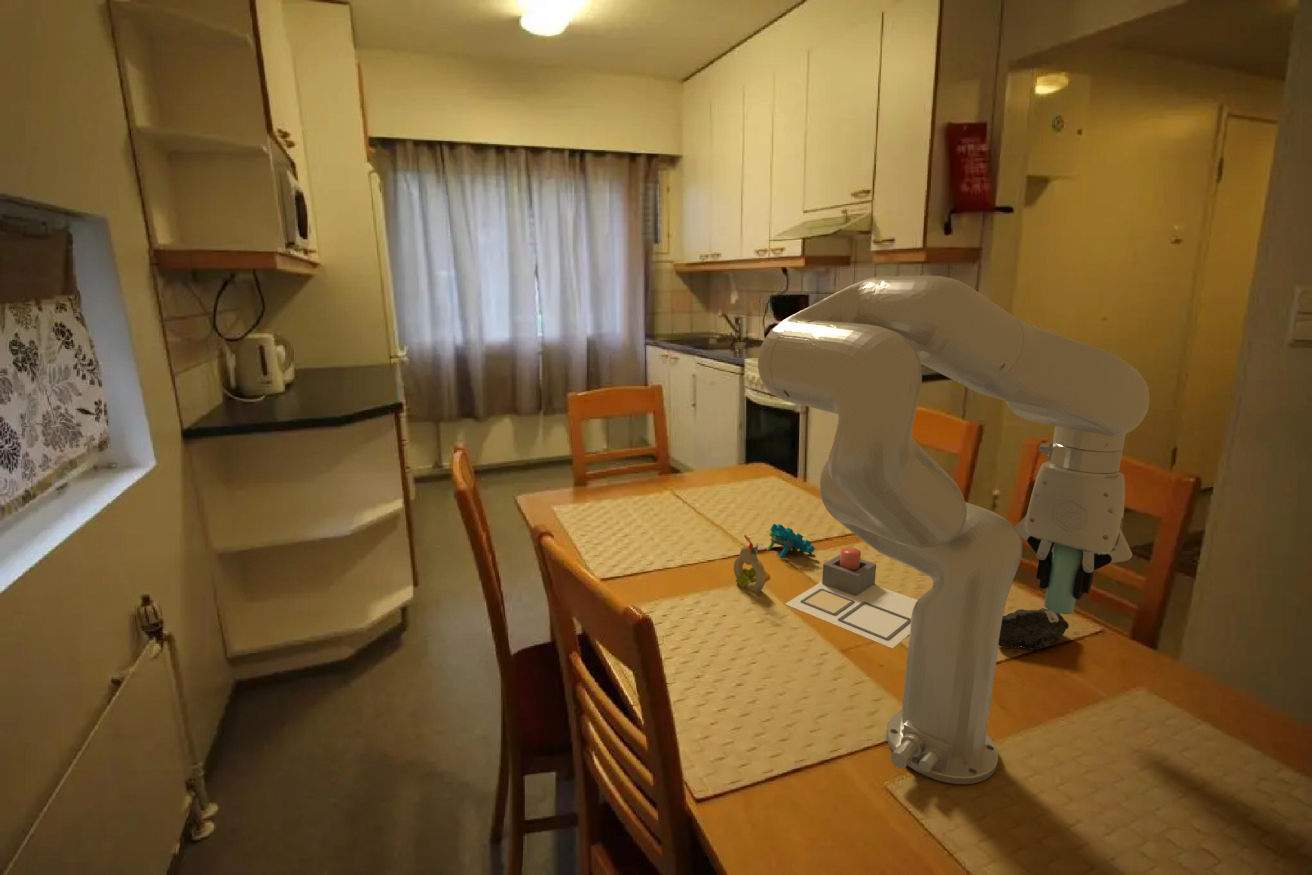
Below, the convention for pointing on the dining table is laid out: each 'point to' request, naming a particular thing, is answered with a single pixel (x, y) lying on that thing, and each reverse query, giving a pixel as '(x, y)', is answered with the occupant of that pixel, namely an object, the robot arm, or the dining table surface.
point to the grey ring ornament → (755, 574)
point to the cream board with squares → (860, 611)
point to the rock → (1031, 628)
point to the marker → (1063, 579)
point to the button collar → (849, 576)
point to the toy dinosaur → (788, 540)
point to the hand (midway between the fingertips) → (1061, 589)
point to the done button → (850, 558)
